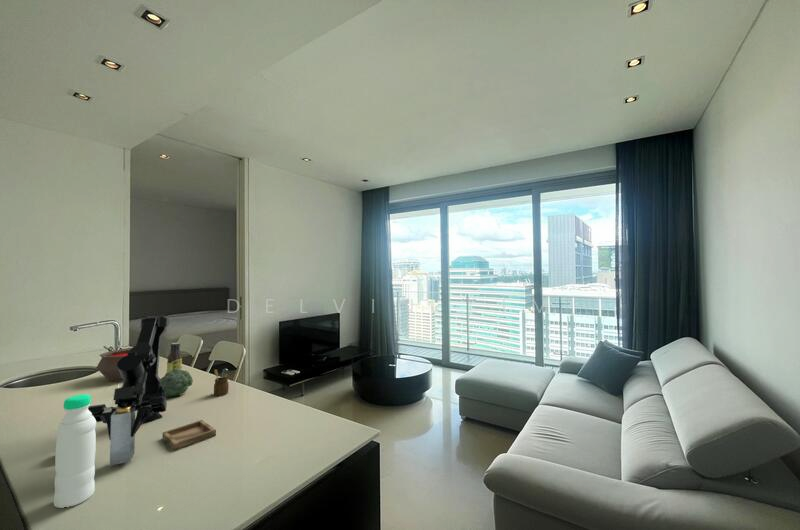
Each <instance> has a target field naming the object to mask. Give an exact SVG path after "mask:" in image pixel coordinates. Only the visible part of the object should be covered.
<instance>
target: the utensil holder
mask: <svg viewBox="0 0 800 530" xmlns="http://www.w3.org/2000/svg"><path fill="white" fill-rule="evenodd" d="M222 370H223V371H222V373H224V372H225V371H229V370H228V369H227V368H224V369H222ZM213 372H214V376H215V377H216V378H215V379H214V385H213V395H214V396H215V397H222V396H225V395H227V394H229V385H230V383H229V381H228V380H229V378H228V377H227V376H228V375H226V374H223V376H221V377H219V373H218V369H214V371H213Z"/></svg>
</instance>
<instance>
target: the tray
mask: <svg viewBox="0 0 800 530" xmlns="http://www.w3.org/2000/svg"><path fill="white" fill-rule="evenodd" d="M216 436H217V429H215V428H214V427H213V426H211V425H210V424H208V422H206V421H204V420H203V419H200V420H197V421H193V422H191V423H189V424H185V425H181V426H179V427H175V428H173V429H170V430H166V431H164V432H162V438H163V439H164V440H165V441H164V440H163V441H164V442H165V443H166V444H168V445H169V446H170V448H171V449H172V450H173V451H175V452H176V451H178V450H182V449H183V448H187V447H189V446H192V445H194V444H198V443H200V442H203V441H205V440H208V439H210V438H213V437H216Z"/></svg>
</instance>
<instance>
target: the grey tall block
mask: <svg viewBox="0 0 800 530" xmlns="http://www.w3.org/2000/svg"><path fill="white" fill-rule="evenodd" d="M135 419H136V411H135V407H131V406H130V405H126V406H121V407H119V408H117V409H116V411H115V412H114V413H113V414H112V415H111V436H110V439H109V441H110V443H109V466H114V465H118V464H123V463H129V462H131V460H132V458H133V456H134V455H135V449H136V448H135V443H136V442H135V440H136V439H135V437H136V434H135V435H134V436H133V437H132V436H131V433H132V428H133V425H134V422H135Z"/></svg>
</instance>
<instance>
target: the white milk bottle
mask: <svg viewBox="0 0 800 530" xmlns="http://www.w3.org/2000/svg"><path fill="white" fill-rule="evenodd" d="M91 401H92V397H91V395H90V394H88V393H87V394H85V393H84V394H77V395H72V396H70V397H68V398H66V399H64V401H63V409H64V411H65V412H66V413H65V415H64V416H63V418H62V419H61V422H59V425H58V426H57V428H56V430H55V436H56V443H55V455H54V456H55V460H54V463H55V464H54V465H55V466H54V467H55V469H54V470H55V478H54V495H53V496H54V497H53V505H54V507H55V508H59V509H65V508H64V507H67V508H71V507H74V506H77V505H79V504H81V503H84V502H85V501H86V500H88V499H89V498H90V497H91V496H93V494H94V493H95V488H96V487H95V473H96V467H95V460H96V459H95V458H96V448H97V447H96V446H97V444H96V443H97V441H96V440H97V439H96V438H97V437H96V427H97V422H96V419H95V418H94V417H93V415H92V413H91V412H90V411H89V410H88V407H89V406H91ZM70 506H71V507H70Z"/></svg>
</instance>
